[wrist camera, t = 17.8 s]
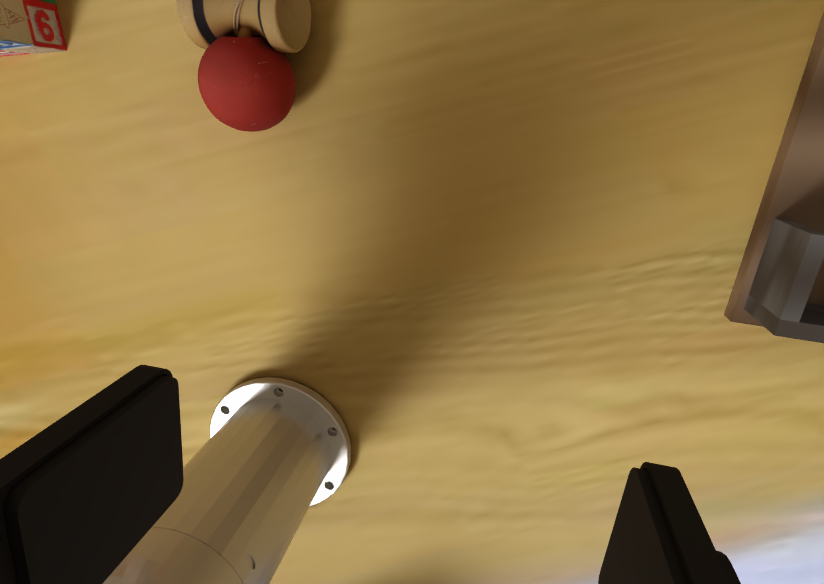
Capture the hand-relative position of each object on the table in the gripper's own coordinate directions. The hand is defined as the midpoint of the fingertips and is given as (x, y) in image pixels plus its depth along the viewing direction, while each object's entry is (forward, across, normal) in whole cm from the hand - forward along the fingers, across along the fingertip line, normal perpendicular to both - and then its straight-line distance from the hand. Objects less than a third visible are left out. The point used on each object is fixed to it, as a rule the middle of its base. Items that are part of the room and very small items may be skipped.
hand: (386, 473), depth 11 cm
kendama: (+29, +16, -13) cm, 35 cm away
